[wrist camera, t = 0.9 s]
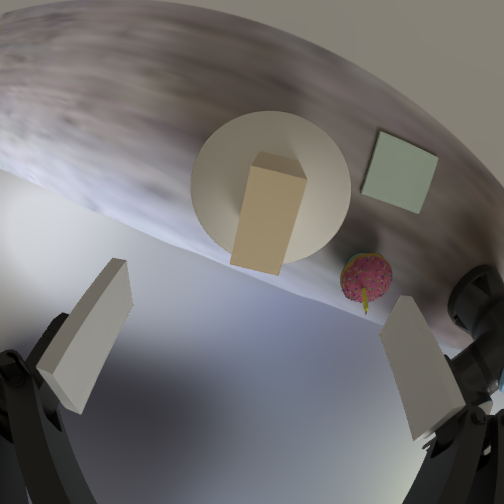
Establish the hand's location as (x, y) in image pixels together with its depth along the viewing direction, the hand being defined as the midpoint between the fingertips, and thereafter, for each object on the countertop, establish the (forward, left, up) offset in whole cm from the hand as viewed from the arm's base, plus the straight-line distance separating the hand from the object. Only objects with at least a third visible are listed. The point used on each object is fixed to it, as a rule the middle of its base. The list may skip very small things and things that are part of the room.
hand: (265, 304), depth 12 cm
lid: (0, 0, -19) cm, 19 cm away
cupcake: (-18, +11, -30) cm, 37 cm away
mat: (-19, -6, -30) cm, 36 cm away
